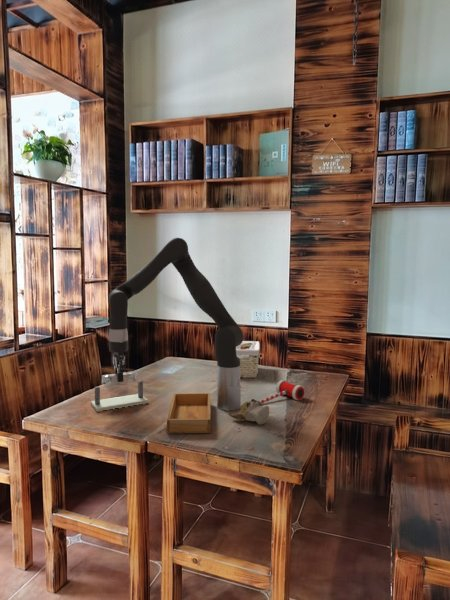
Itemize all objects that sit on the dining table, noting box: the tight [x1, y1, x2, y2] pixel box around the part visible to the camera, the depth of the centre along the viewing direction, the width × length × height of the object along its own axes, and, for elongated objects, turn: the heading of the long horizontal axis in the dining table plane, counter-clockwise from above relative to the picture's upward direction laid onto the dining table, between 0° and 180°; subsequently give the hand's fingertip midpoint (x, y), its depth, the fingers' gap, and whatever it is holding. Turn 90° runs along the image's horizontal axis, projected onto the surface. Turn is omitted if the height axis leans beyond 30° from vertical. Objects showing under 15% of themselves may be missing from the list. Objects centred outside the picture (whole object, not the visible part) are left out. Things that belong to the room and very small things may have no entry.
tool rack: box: [90, 379, 149, 412], centre depth 188 cm, size 21×10×8 cm, turn 119°
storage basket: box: [236, 340, 261, 379], centre depth 237 cm, size 24×16×15 cm
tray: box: [166, 392, 212, 435], centre depth 173 cm, size 31×15×6 cm, turn 2°
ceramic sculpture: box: [228, 398, 270, 426], centre depth 170 cm, size 11×9×15 cm
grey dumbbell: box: [101, 371, 137, 385], centre depth 187 cm, size 14×4×3 cm, turn 119°
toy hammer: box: [257, 379, 306, 406], centre depth 194 cm, size 23×12×6 cm, turn 128°
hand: (119, 380), depth 188 cm, fingers closed on grey dumbbell, 3 cm apart
